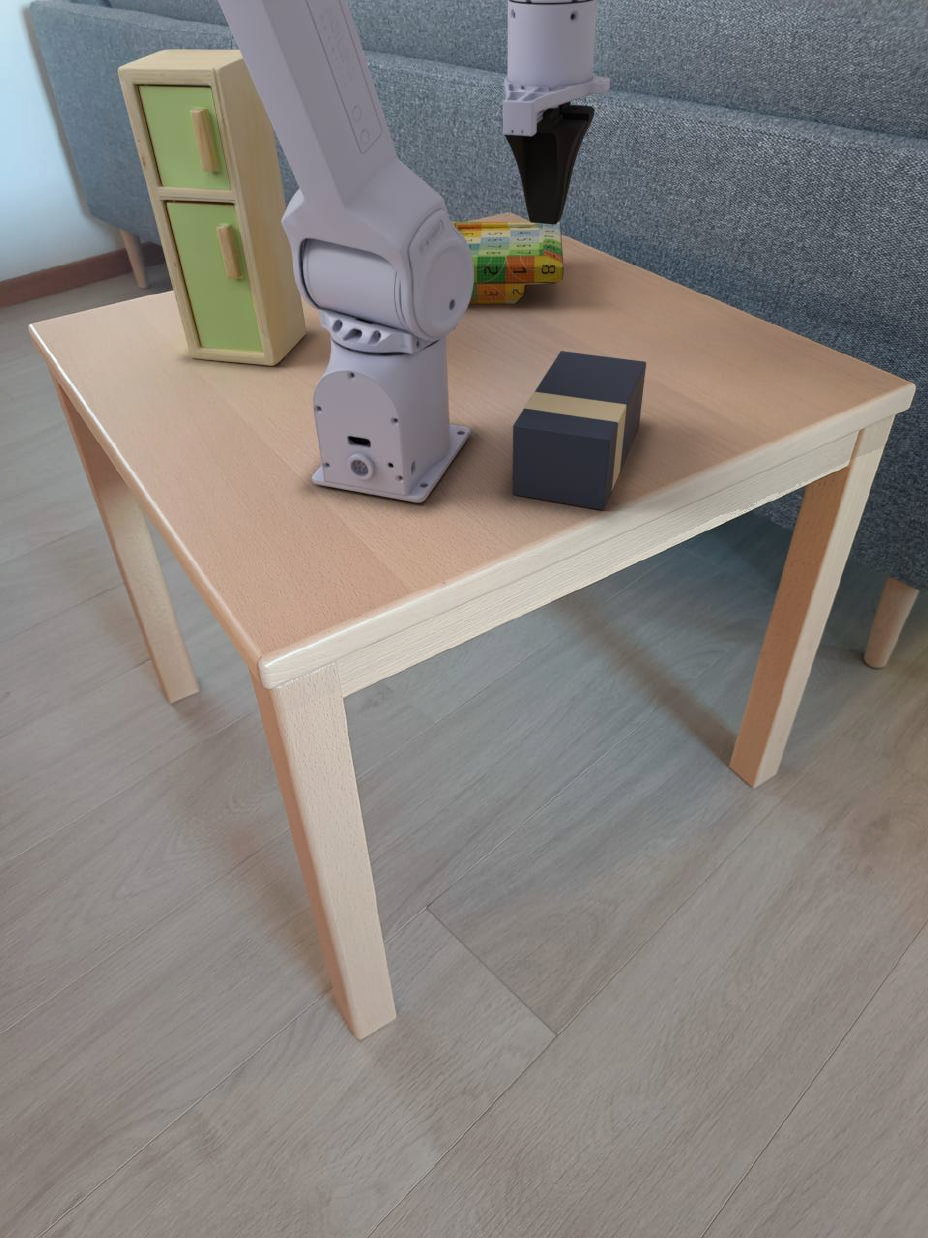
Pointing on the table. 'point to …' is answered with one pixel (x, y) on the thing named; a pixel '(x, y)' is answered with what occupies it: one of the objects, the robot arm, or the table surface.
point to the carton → (578, 429)
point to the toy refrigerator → (216, 202)
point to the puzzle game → (511, 258)
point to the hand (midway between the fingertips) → (545, 220)
